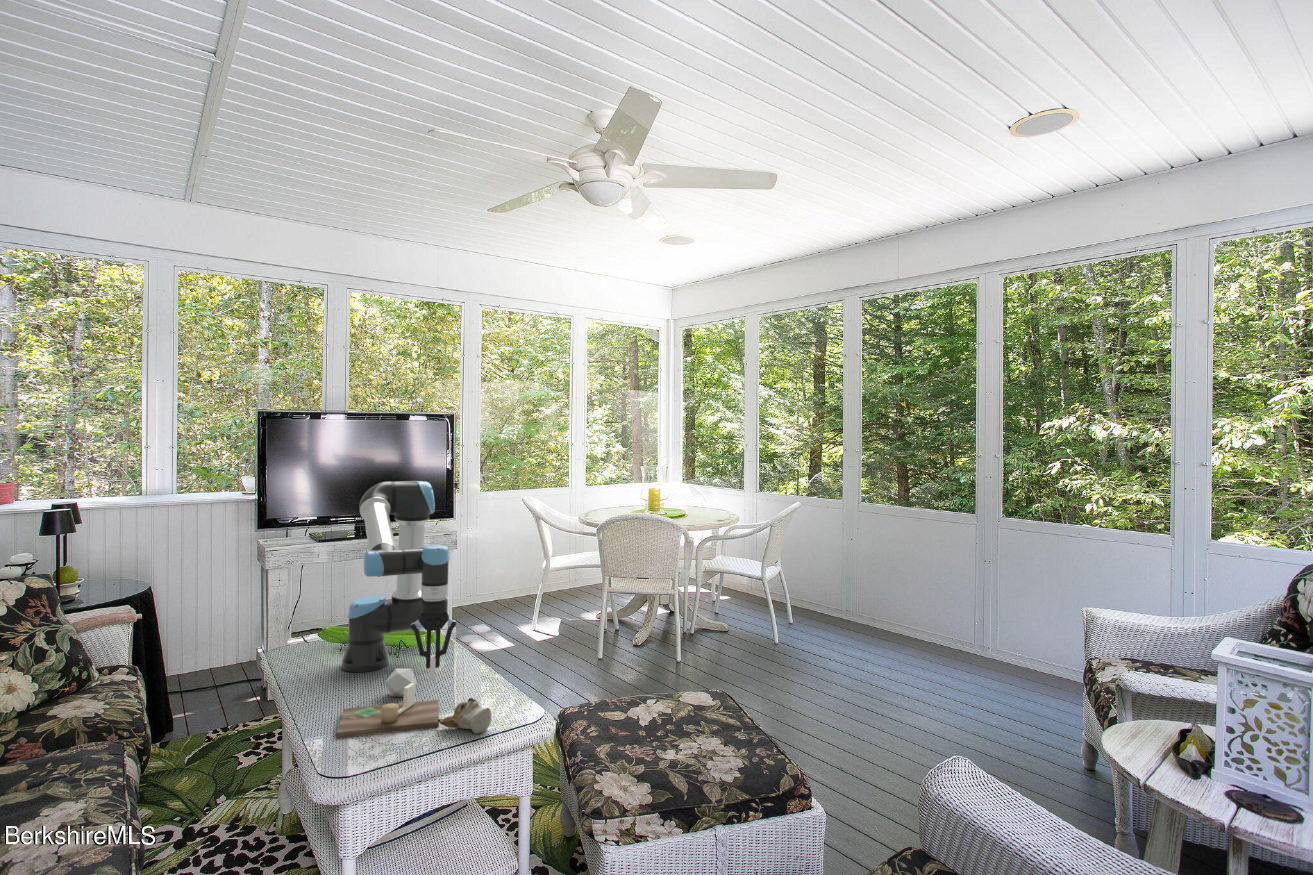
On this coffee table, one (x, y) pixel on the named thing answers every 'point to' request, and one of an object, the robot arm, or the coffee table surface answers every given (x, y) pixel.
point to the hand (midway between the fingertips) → (432, 678)
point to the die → (400, 681)
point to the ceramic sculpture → (469, 717)
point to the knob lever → (391, 710)
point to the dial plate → (370, 723)
